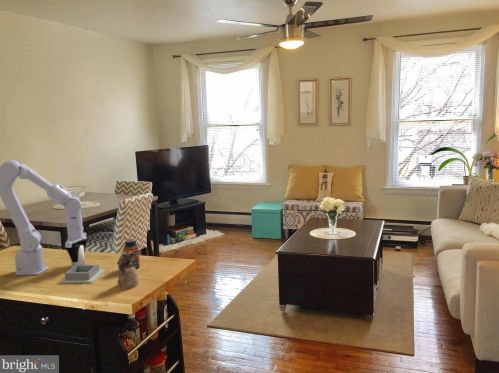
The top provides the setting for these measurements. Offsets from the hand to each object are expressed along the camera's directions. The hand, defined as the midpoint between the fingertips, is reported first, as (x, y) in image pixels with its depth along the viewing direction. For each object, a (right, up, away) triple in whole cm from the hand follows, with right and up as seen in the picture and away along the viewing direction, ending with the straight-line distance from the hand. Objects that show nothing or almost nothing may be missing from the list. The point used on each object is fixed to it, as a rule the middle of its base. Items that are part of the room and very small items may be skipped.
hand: (77, 259), depth 173 cm
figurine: (+26, -6, -21) cm, 34 cm away
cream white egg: (0, -2, 0) cm, 2 cm away
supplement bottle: (+23, -3, -4) cm, 23 cm away
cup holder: (+6, -4, -12) cm, 14 cm away
